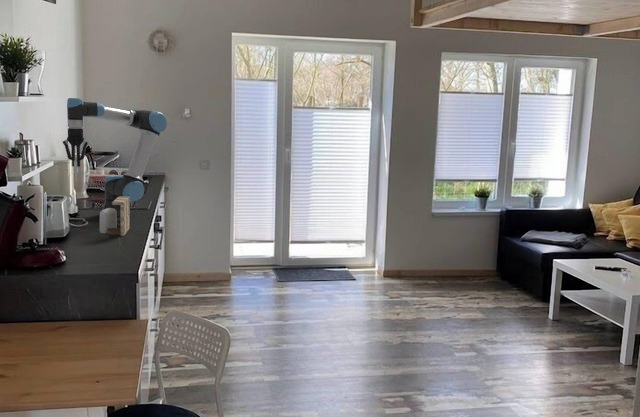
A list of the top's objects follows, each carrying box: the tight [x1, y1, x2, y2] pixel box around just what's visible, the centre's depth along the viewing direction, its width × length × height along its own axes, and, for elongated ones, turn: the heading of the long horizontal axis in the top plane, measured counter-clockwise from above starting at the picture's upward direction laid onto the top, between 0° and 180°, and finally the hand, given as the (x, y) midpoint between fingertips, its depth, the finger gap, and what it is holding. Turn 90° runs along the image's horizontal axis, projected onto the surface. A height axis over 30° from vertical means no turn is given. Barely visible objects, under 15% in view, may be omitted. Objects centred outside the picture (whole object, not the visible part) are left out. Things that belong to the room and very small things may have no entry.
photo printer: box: [99, 208, 118, 234], centre depth 322 cm, size 10×4×12 cm, turn 160°
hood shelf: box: [106, 196, 131, 237], centre depth 322 cm, size 18×8×17 cm, turn 8°
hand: (76, 172), depth 329 cm, fingers closed
